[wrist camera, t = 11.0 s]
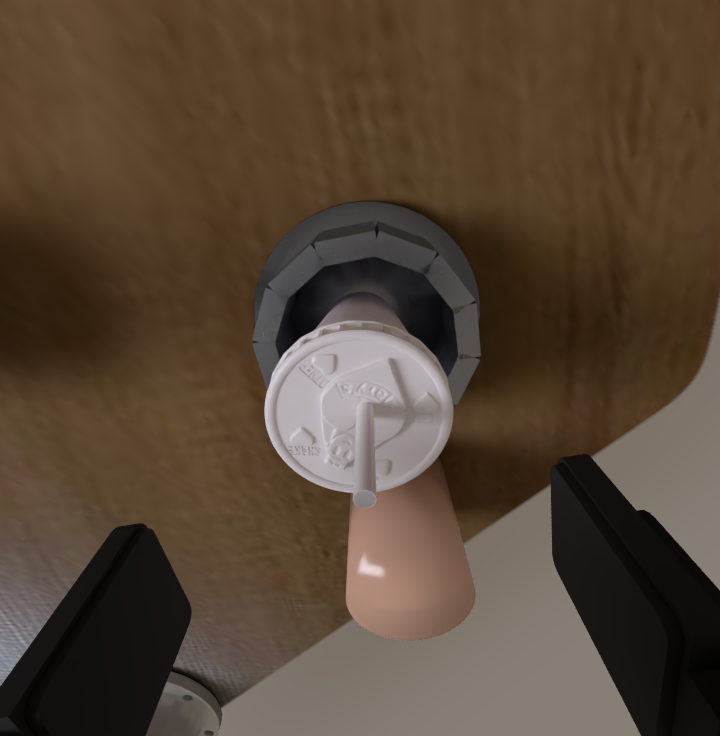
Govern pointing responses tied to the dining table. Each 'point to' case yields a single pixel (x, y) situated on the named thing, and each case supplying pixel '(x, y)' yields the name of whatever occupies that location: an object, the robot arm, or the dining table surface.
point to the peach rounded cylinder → (408, 561)
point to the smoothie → (359, 402)
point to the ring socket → (371, 283)
